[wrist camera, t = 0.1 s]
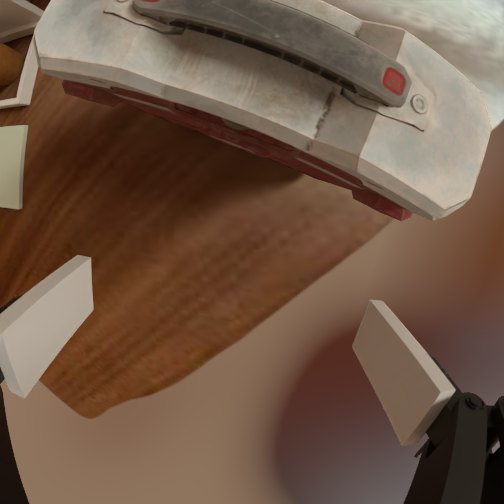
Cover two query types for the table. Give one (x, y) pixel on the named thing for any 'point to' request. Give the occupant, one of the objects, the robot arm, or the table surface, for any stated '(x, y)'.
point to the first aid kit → (284, 90)
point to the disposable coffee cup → (9, 64)
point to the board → (12, 165)
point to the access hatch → (13, 27)
